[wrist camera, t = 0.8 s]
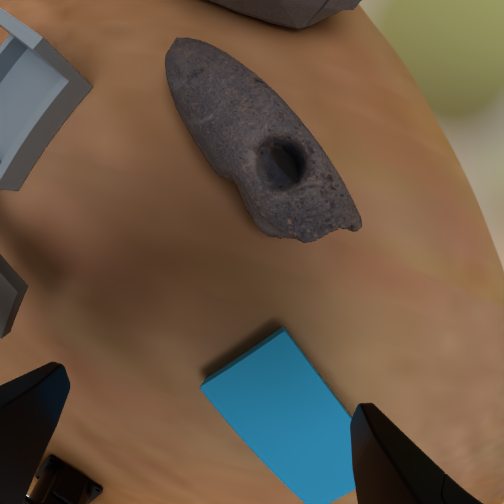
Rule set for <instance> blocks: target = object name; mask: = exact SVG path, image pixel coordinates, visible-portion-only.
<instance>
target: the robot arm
mask: <svg viewBox="0 0 504 504" xmlns="http://www.w3.org/2000/svg"><path fill="white" fill-rule="evenodd" d="M69 391H70V381H69V378H68V376H67V373H66V370H65V367H64V366H63V365H62V364H60V363H56V362H50V363H48V364H46V365H44V366H42V367H39V368H37V369H35V370H33V371H31V372H29V373H27V374H24V375H22V376H20V377H18V378H16V379H14V380H12V381H9V382H7V383H5V384H3V385H1V386H0V504H89V503H90V502H91V501H92V500H93V499H95V498H96V497H97V496H98V495H99V494H101V493H102V491H103V488H102V487H101V486H99V485H98V484H96V483H94V482H93V481H91V480H89V479H88V478H86V477H84V476H83V475H81V474H80V473H78V472H77V471H75V470H74V469H72V468H71V467H69V466H68V465H66V464H65V463H63V462H62V461H61V460H59V459H58V458H56V457H55V456H53V455H49V456H48V457H47V459H46V460H45V462H44V463H43V465H42V466H41V467H40V469H39V470H38V472H37V473H36V470H37V468H38V466H39V463H40V461H41V459H42V456H43V454H44V452H45V450H46V448H47V445H48V443H49V441H50V439H51V437H52V435H53V432H54V430H55V428H56V426H57V423H58V421H59V418H60V415H61V412H62V409H63V407H64V404H65V401H66V399H67V396H68V393H69ZM350 435H351V452H352V469H353V476H354V482H355V488H356V494H357V500H358V504H483V503H481V502H480V501H479V500H477V499H476V498H474V497H473V496H472V495H470V494H469V493H468V492H467V491H465V490H464V489H463V488H462V487H461V486H459V485H458V484H457V483H456V482H455V481H454V480H453V479H452V478H450V477H449V476H448V475H447V474H445V472H444V471H443V470H442V469H441V468H440V467H439V466H438V465H436V464H435V463H434V462H433V461H432V460H431V459H430V458H429V457H428V456H427V455H426V454H425V453H424V452H423V451H422V450H421V449H420V448H419V447H418V446H416V445H415V444H414V443H413V442H412V441H411V440H410V439H409V438H408V437H407V436H406V435H405V434H404V433H403V432H402V431H401V430H400V429H399V428H398V427H397V426H396V425H395V424H394V423H393V422H392V421H391V420H390V419H389V418H388V417H386V416H385V415H384V414H383V413H382V412H381V411H380V410H379V409H378V408H377V407H376V406H375V405H374V404H373V403H360V404H359V405H358V406H357V408H356V410H355V413H354V415H353V417H352V420H351V423H350ZM35 473H36V475H35ZM34 475H35V477H36V478H37V479H38V481H37V483H36V485H35V487H34V489H33V491H32V492H31V494H30V496H29V497H27V496H26V495H27V492H28V490H29V487H30V485H31V482H32V480H33V477H34Z"/></svg>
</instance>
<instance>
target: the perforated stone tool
mask: <svg viewBox="0 0 504 504" xmlns="http://www.w3.org/2000/svg"><path fill="white" fill-rule="evenodd" d="M165 68H166V75H167V80H168V84H169V88H170V91H171V94H172V97H173V100H174V102H175V105H176V108H177V110H178V112H179V114H180V116H181V118H182V120H183V122H184V123H185V125H186V126H187V128H188V130H189V131H190V133H191V135H192V137H193V138H194V140H195V142H196V143H197V145H198V146H199V148H200V149H201V151H202V152H203V154H204V156H205V157H206V158H207V160H208V161H209V163H210V164H211V166H212V167H213V169H214V170H215V172H216V173H217V174H219V175H220V176H222V177H224V178H226V179H228V180H232V181H234V182H235V183H236V185H237V187H238V189H239V192H240V194H241V197H242V199H243V202H244V204H245V207H246V209H247V211H248V212H249V214H250V215H251V217H252V219H253V221H254V222H255V223H256V225H257V226H258V227H259V229H260V230H261V232H263V233H265V234H266V235H267V236H270V237H277V238H279V239H281V238H294V239H298V240H299V241H301V242H303V243H307V242H312V241H316V240H317V239H320V238H322V237H323V236H324V235H327V234H328V233H329V232H333V231H335V230H338V228H342V229H348V230H350V231H353V232H356V231H358V230H359V229H360V228H361V227H362V222H361V221H362V220H361V217H360V215H359V212H358V210H357V208H356V206H355V204H354V202H353V200H352V198H351V196H350V194H349V192H348V190H347V188H346V186H345V184H344V182H343V180H342V179H341V177H340V175H339V174H338V172H337V171H336V169H335V167H334V166H333V164H332V162H331V161H330V159H329V158H328V156H327V155H326V153H325V152H324V150H323V149H322V147H321V146H320V145H319V143H318V142H317V141H316V139H315V138H314V136H313V135H312V134H311V132H310V131H309V130H308V129H307V128H306V126H305V125H304V124H303V123H302V121H301V120H300V119H299V117H298V116H297V115H296V114H295V113H294V112H293V111H292V110H291V108H290V107H289V106H288V105H287V104H286V103H285V101H284V100H283V99H282V98H281V97H280V96H279V95H278V94H277V93H276V92H275V91H274V90H272V89H271V87H269V86H268V85H267V84H266V83H265V82H264V81H263V80H262V79H260V78H259V77H258V76H257V75H256V74H255V73H254V72H252V71H251V70H249V69H248V68H247V67H245V66H244V65H243V64H241V63H240V62H239V61H237V60H236V59H235V58H233V57H232V56H230V55H229V54H227V53H226V52H223V51H222V50H220V49H218V48H216V47H215V46H213V45H211V44H208V43H206V42H202V41H200V40H195V39H192V38H188V37H187V38H176V39H175V41H174V43H173V44H172V46H171V47H170V49H169V50H168V52H167V54H166V58H165Z"/></svg>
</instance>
